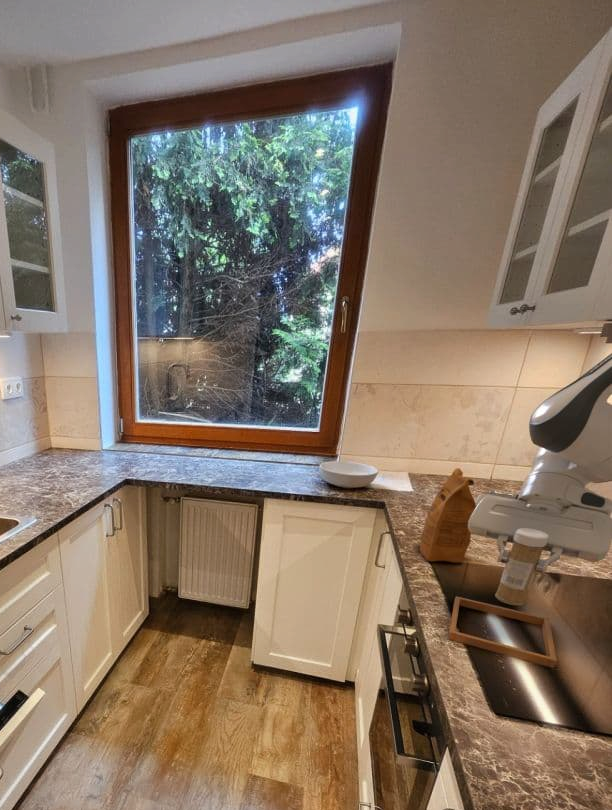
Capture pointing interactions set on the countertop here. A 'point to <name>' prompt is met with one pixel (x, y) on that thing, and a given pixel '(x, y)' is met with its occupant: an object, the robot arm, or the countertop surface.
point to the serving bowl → (347, 474)
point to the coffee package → (449, 521)
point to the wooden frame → (501, 648)
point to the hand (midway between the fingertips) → (521, 566)
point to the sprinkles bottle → (521, 565)
